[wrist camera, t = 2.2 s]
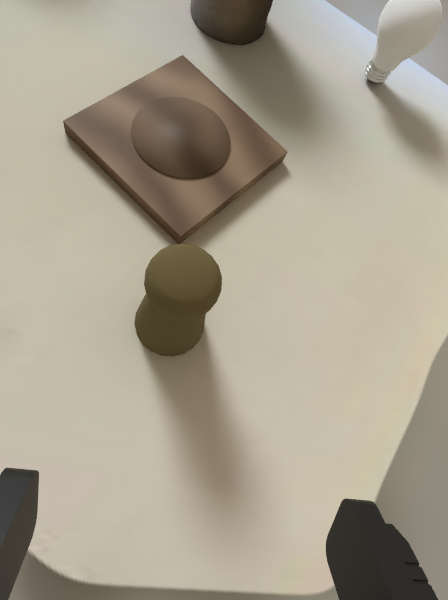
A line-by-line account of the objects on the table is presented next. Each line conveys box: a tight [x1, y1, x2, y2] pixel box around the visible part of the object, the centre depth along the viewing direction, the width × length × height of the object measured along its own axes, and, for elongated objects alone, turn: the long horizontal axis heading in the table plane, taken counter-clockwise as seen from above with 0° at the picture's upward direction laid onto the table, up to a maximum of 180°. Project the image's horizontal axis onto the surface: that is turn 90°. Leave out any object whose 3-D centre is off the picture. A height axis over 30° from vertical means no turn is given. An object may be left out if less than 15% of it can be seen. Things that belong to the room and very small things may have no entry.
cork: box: [135, 244, 222, 356], centre depth 31 cm, size 6×6×11 cm
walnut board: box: [63, 55, 287, 244], centre depth 42 cm, size 16×16×2 cm
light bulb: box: [365, 0, 442, 83], centre depth 49 cm, size 7×7×11 cm
